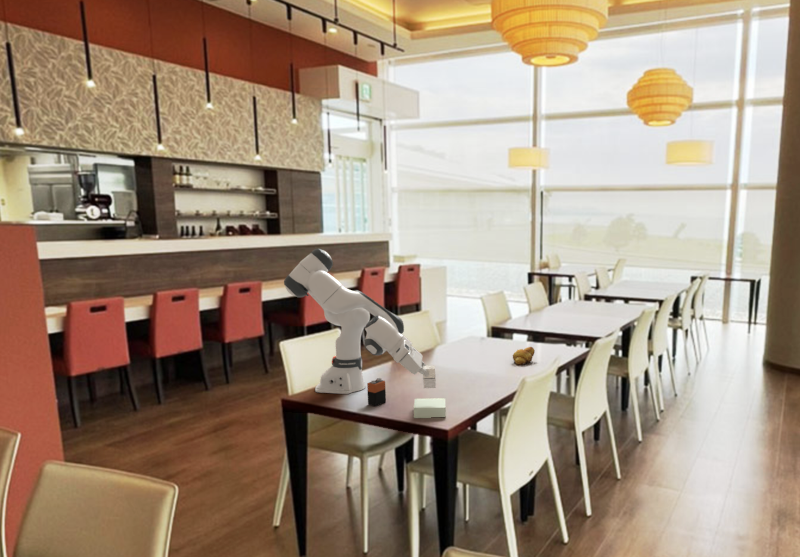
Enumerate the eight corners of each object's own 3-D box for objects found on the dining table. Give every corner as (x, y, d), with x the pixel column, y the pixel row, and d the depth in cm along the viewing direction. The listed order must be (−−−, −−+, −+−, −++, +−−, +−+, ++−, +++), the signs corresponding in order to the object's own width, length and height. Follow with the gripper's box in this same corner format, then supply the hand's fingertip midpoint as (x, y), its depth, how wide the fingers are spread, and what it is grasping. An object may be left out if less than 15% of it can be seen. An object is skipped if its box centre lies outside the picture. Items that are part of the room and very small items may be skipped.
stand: (413, 418, 208) (413, 407, 208) (415, 408, 219) (414, 398, 219) (445, 417, 208) (445, 407, 207) (445, 408, 218) (445, 398, 218)
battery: (386, 402, 228) (385, 378, 227) (375, 406, 223) (374, 382, 222) (378, 400, 231) (377, 377, 230) (367, 404, 226) (366, 380, 225)
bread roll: (524, 366, 278) (524, 351, 277) (507, 364, 284) (507, 348, 283) (536, 361, 287) (536, 346, 287) (519, 359, 294) (519, 344, 293)
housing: (423, 388, 210) (422, 368, 209) (424, 384, 214) (423, 365, 214) (435, 387, 209) (434, 368, 209) (435, 384, 214) (435, 365, 213)
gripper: (398, 348, 222) (423, 371, 222) (393, 361, 202) (421, 386, 202) (408, 337, 221) (434, 360, 221) (405, 349, 201) (433, 374, 201)
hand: (428, 373), depth 211 cm, fingers closed on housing, 4 cm apart
